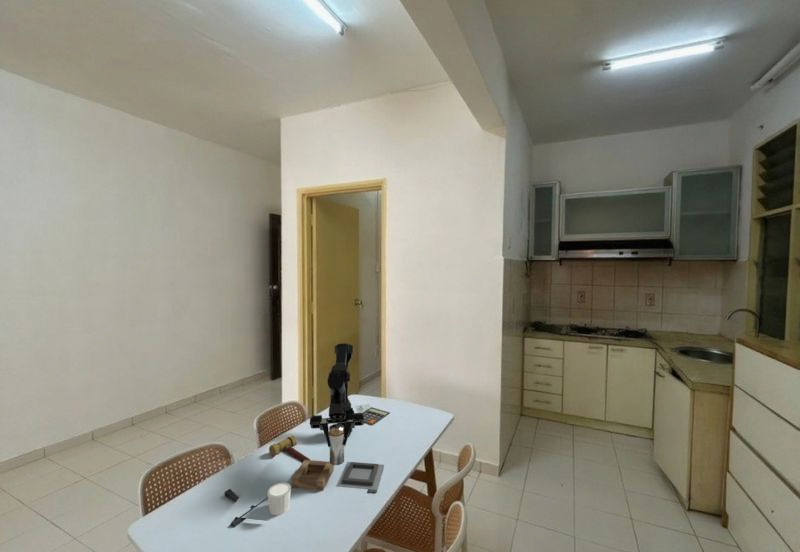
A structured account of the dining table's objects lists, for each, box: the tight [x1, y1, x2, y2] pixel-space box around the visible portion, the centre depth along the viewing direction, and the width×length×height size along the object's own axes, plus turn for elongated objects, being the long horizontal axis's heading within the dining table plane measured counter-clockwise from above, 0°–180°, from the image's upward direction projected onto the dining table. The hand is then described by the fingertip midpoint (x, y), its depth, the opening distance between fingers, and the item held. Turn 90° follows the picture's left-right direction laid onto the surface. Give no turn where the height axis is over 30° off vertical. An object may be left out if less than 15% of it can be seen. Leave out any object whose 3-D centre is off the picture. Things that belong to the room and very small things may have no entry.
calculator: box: [362, 407, 391, 426], centre depth 170 cm, size 12×1×15 cm
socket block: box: [291, 459, 335, 491], centre depth 121 cm, size 11×11×4 cm
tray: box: [335, 461, 385, 493], centre depth 123 cm, size 14×14×2 cm
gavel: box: [268, 435, 311, 463], centre depth 135 cm, size 21×5×10 cm
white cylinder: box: [267, 482, 292, 516], centre depth 106 cm, size 7×7×7 cm
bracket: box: [224, 488, 268, 528], centre depth 110 cm, size 14×15×3 cm
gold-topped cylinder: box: [328, 423, 345, 466], centre depth 120 cm, size 5×5×12 cm
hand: (336, 446), depth 119 cm, fingers closed on gold-topped cylinder, 5 cm apart
